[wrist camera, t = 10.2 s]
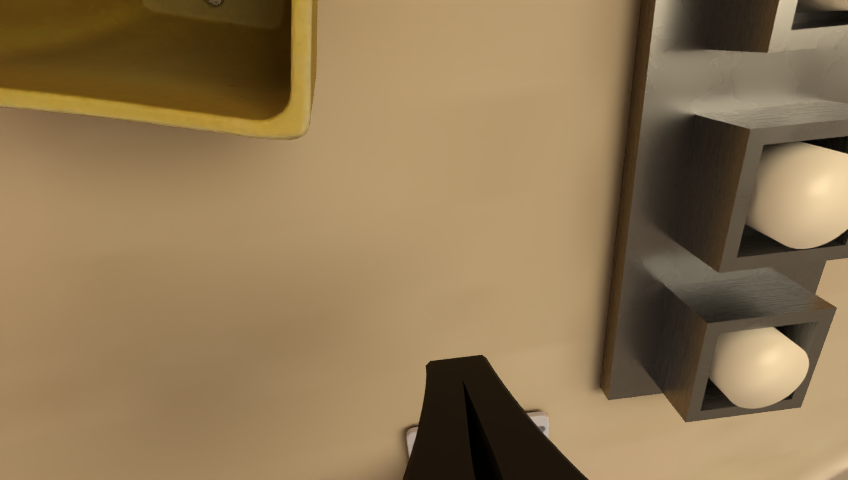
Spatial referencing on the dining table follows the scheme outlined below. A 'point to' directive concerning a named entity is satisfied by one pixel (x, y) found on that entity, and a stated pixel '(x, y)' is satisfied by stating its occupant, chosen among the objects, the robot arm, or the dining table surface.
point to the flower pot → (164, 62)
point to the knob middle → (800, 194)
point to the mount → (717, 193)
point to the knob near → (821, 5)
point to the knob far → (757, 366)
